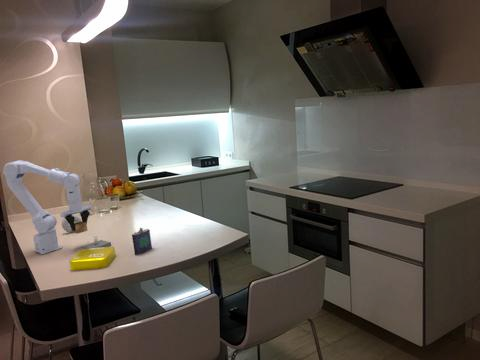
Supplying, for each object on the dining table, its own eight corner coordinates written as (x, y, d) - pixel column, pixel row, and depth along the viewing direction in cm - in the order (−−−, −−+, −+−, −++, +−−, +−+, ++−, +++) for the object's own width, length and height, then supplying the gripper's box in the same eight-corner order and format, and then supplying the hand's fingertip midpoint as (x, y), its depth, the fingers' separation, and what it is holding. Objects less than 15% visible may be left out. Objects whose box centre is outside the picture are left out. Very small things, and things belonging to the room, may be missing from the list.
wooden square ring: (77, 233, 187) (76, 225, 186) (72, 232, 190) (70, 223, 190) (87, 230, 191) (86, 222, 190) (82, 229, 194) (80, 221, 193)
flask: (149, 247, 183) (146, 224, 181) (153, 248, 181) (151, 225, 179) (133, 254, 176) (129, 230, 174) (137, 255, 174) (134, 231, 172)
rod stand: (91, 252, 183) (89, 239, 182) (82, 249, 188) (80, 237, 187) (111, 245, 190) (109, 233, 189) (101, 242, 195) (100, 231, 194)
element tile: (117, 255, 177) (115, 244, 177) (107, 268, 163) (105, 257, 162) (82, 258, 177) (81, 247, 176) (69, 272, 162) (67, 260, 162)
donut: (63, 235, 214) (60, 216, 212) (62, 233, 216) (59, 215, 215) (83, 230, 219) (80, 212, 217) (82, 229, 221) (79, 211, 220)
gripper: (63, 204, 180) (68, 234, 182) (93, 197, 191) (97, 225, 193) (56, 203, 184) (61, 232, 187) (85, 196, 195) (90, 223, 198)
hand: (79, 228), depth 190 cm, fingers closed on wooden square ring, 5 cm apart
